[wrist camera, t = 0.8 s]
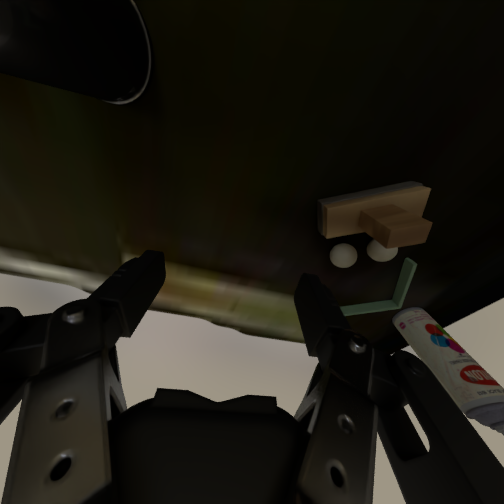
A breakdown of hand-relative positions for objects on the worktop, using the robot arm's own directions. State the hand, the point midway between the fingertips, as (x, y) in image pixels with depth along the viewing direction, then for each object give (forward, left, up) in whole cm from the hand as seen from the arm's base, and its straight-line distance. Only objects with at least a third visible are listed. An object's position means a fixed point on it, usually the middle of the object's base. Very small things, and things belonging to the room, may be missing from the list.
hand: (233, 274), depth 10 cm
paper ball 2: (+13, +20, -16) cm, 28 cm away
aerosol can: (+35, +31, -18) cm, 50 cm away
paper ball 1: (+13, +14, -16) cm, 25 cm away
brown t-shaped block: (+6, +17, -18) cm, 25 cm away
